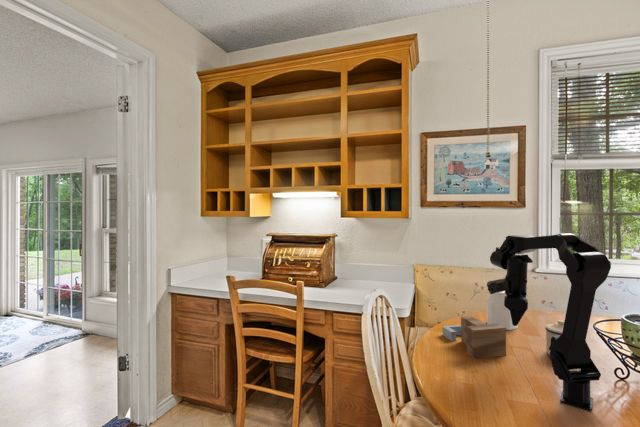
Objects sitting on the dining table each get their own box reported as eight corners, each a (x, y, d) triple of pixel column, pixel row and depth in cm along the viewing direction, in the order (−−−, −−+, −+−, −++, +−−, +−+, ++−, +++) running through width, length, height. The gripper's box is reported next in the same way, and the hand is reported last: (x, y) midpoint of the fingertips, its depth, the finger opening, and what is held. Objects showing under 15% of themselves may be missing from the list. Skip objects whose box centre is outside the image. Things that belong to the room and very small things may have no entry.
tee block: (506, 355, 116) (505, 327, 116) (473, 358, 114) (473, 330, 114) (480, 339, 130) (480, 315, 130) (451, 342, 128) (451, 317, 128)
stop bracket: (477, 338, 131) (477, 329, 131) (451, 341, 129) (451, 332, 129) (468, 332, 137) (467, 324, 137) (442, 334, 136) (442, 326, 136)
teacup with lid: (574, 363, 109) (574, 327, 109) (541, 354, 116) (541, 320, 116) (583, 352, 117) (583, 319, 117) (552, 345, 124) (552, 313, 123)
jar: (485, 326, 144) (484, 291, 144) (488, 320, 152) (488, 286, 152) (516, 331, 138) (516, 294, 138) (518, 324, 146) (517, 289, 146)
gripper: (490, 264, 122) (489, 306, 123) (486, 277, 106) (485, 326, 107) (527, 268, 116) (525, 312, 118) (528, 282, 100) (526, 333, 102)
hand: (514, 320), depth 111 cm, fingers open, 9 cm apart
